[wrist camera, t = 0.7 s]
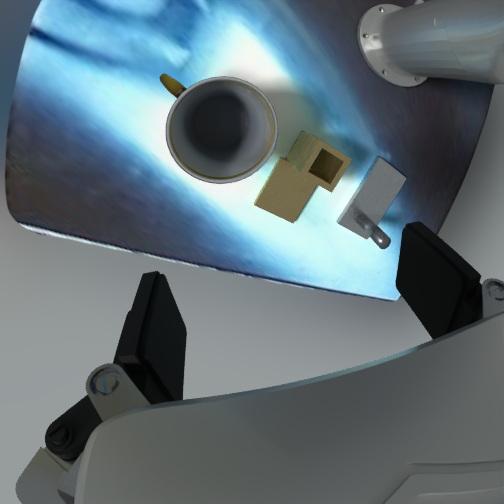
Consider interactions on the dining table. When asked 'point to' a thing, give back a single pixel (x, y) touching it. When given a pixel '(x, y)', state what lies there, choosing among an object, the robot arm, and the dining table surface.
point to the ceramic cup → (220, 128)
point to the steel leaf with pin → (372, 202)
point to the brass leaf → (301, 176)
